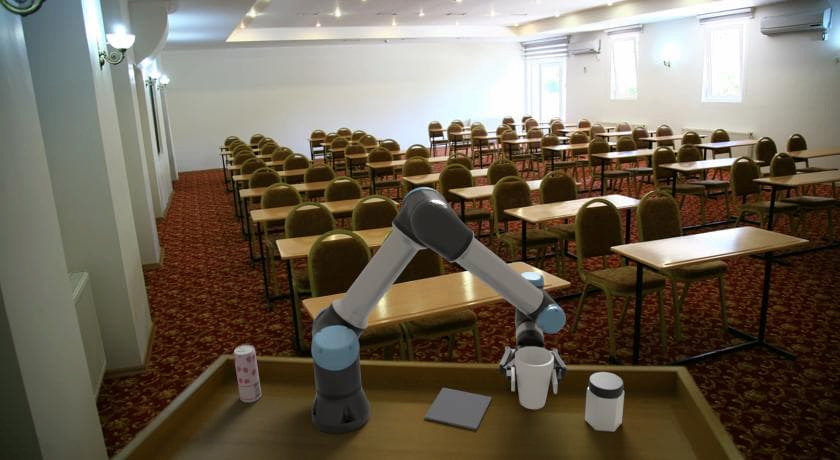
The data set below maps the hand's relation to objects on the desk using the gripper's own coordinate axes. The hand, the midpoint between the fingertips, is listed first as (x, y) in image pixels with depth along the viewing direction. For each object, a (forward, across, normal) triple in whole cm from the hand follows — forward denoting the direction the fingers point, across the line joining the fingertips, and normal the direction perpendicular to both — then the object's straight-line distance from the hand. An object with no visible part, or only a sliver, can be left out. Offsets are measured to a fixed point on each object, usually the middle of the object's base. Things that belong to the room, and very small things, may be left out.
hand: (534, 387), depth 146 cm
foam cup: (-4, 0, -7) cm, 8 cm away
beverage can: (-9, +76, -14) cm, 78 cm away
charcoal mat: (-8, +19, -13) cm, 24 cm away
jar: (-6, -18, -13) cm, 23 cm away
